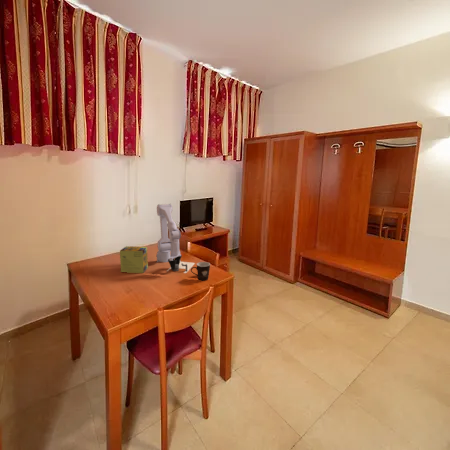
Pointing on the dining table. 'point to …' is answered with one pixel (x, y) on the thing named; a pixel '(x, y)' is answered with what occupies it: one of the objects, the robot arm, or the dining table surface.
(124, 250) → the protein box
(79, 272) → the dining table surface
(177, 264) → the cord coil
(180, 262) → the shelf board
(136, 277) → the dining table surface
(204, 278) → the coffee mug
